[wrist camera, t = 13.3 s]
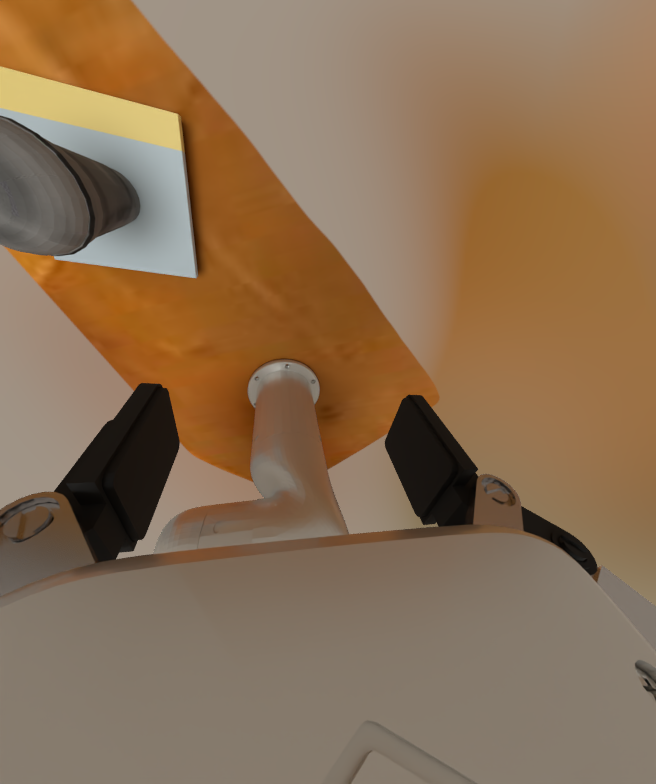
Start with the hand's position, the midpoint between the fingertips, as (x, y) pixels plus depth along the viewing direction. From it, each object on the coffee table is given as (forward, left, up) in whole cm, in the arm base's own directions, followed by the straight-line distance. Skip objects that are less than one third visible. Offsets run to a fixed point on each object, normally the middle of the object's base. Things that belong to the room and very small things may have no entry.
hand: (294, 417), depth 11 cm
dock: (+5, +17, -30) cm, 35 cm away
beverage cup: (+5, +17, -28) cm, 33 cm away
